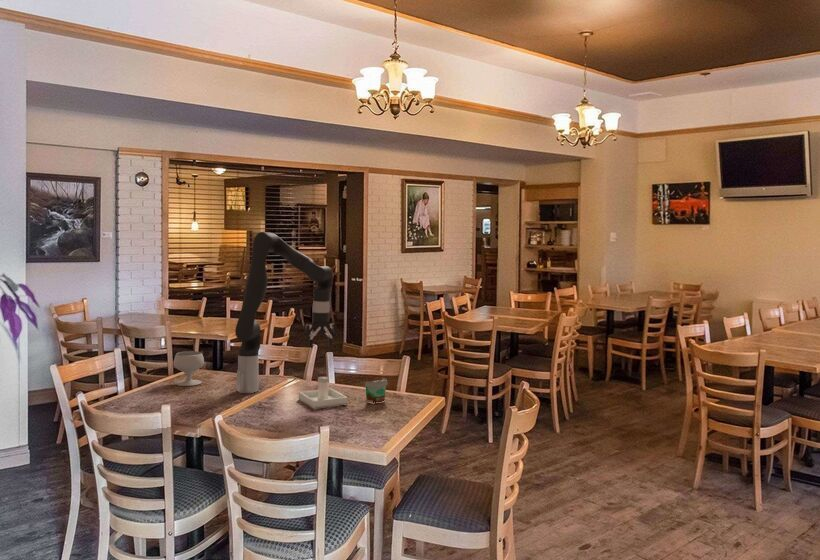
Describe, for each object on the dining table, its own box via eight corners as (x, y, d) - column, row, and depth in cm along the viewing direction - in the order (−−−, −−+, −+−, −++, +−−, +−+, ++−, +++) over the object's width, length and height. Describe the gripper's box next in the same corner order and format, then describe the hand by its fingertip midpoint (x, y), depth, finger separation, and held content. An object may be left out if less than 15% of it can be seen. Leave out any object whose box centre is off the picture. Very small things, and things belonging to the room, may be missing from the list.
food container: (375, 406, 278) (375, 383, 277) (364, 404, 282) (364, 381, 281) (392, 401, 288) (393, 379, 287) (382, 398, 291) (382, 376, 291)
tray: (314, 409, 271) (314, 401, 271) (298, 399, 286) (298, 392, 286) (347, 405, 279) (347, 397, 279) (331, 396, 294) (331, 388, 294)
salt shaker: (320, 402, 280) (320, 379, 279) (316, 399, 283) (316, 377, 283) (329, 400, 282) (330, 378, 281) (325, 398, 286) (326, 376, 285)
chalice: (199, 379, 322) (199, 349, 321) (207, 385, 311) (207, 354, 309) (170, 382, 314) (170, 352, 313) (178, 388, 303) (177, 357, 302)
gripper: (332, 309, 292) (331, 344, 293) (302, 310, 285) (301, 346, 286) (339, 311, 285) (338, 347, 286) (308, 312, 278) (307, 349, 279)
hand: (320, 347), depth 286 cm, fingers open, 8 cm apart
